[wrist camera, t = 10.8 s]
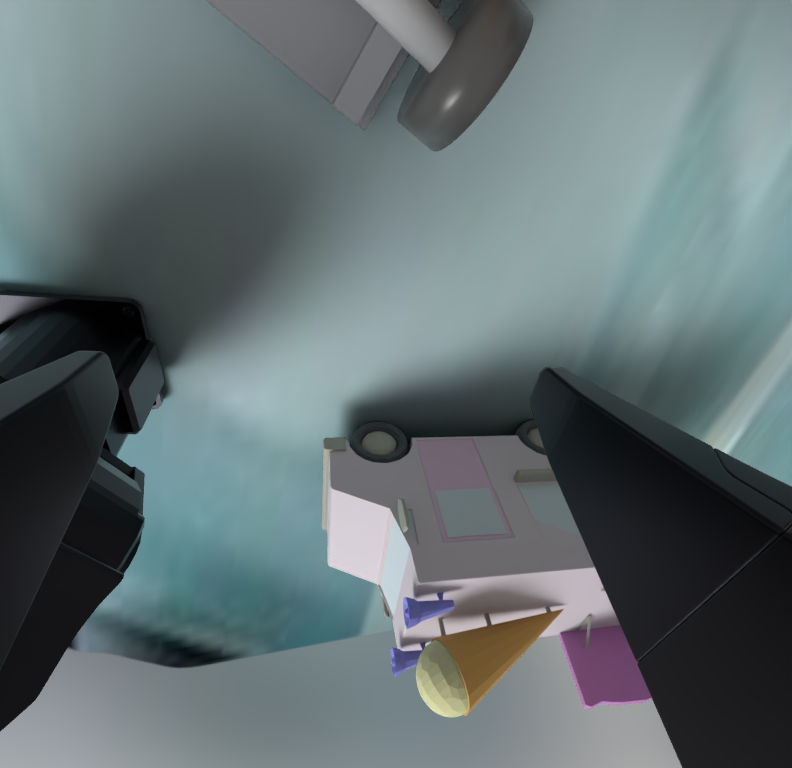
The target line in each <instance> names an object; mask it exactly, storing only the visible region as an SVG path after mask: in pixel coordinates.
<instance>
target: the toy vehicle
mask: <svg viewBox="0 0 792 768" xmlns="http://www.w3.org/2000/svg"><path fill="white" fill-rule="evenodd" d="M322 529H324V530H327V551H328V565H329V566H331V567H333V568H336V569H339V570H341V571H344V572H346V573H349V574H352V575H354V576H357V577H360V578H362V579H365V580H368V581H370V582H373V583H375V584H377V585H378V588H379V590H380V592H381V595H382V603H383V611H384V614H385V616H386V617H387V618H389V614H390V616H391V618H392V621H393V626H394V631H395V637H396V643H397V648H398V649H397V648H393V647H392V648H391V665H392V672H393V677H396V676H397V675H399V674H401V673H402V672H404V671H405V670H407V669H409V668H411V667H414V666H416V665H417V670H416V679H417V686H418V689H419V692H420V695H421V696H422V698H423V700H424V701H425V703H426V704H427V705H428V706H429V707H430V708H431V709H432V710H433V711H434V712H436V713H437V714H440V715H442V716H445V717H458V716H461V715H466V716H467V715H468V714H469V713H470V712H471V711H472V709H473V708H474V707H475V706H476V705H477V704H478V703H479V702H480V701H481V700H482V698H483V697H484V696H485V695H486V694H487V693H488V692H489V691H490V690H491V689H492V688H493V686H494V685H495V684H496V683H497V682H498V681H499V680H500V679H501V678H502V677H503V676H504V674H505V673H506V672H507V671H508V670H509V669H510V668H511V667H512V666H513V665H514V664H515V662H516V661H517V660H518V659H519V658H520V657H521V656H522V655H523V654H524V653H525V652H526V650H527V649H528V648H529V647H530V646H531V645H532V644H533V643H534V642H535V641H536V640H537V638H538V637H544V636H553V635H559V638H560V641H561V644H562V647H563V649H564V652H565V655H566V658H567V661H568V664H569V667H570V670H571V672H572V675H573V678H574V681H575V684H576V687H577V690H578V692H579V696H580V698H581V701H582V704H583V707H584V708H586V709H591V708H593V707H595V706H597V705H599V704H608V705H625V704H636V703H643V702H646V701H649V700H652V697H651V695H650V693H649V690H648V688H647V686H646V683H645V681H644V679H643V677H642V674H641V672H640V670H639V668H638V665H637V663H638V662H637V661H636V660H635V658H634V656H633V653H632V651H631V649H630V646H629V644H628V642H627V640H626V637H625V635H624V633H623V630H622V628H621V626H620V624H619V621H618V619H617V617H616V614H615V612H614V610H613V608H612V605H611V603H610V601H609V599H608V596H607V594H606V592H605V589H604V587H603V585H602V583H601V580H600V578H599V576H598V573H597V571H596V569H595V567H594V564H593V562H592V560H591V558H590V555H589V553H588V551H587V548H586V546H585V544H584V542H583V539H582V537H581V535H580V532H579V530H578V528H577V526H576V523H575V521H574V519H573V516H572V514H571V512H570V510H569V507H568V505H567V503H566V501H565V498H564V496H563V494H562V491H561V489H560V487H559V485H558V482H557V480H556V478H555V475H554V473H553V471H552V469H551V466H550V464H549V461H548V459H547V456H546V453H545V450H544V447H543V444H542V440H541V437H540V434H539V431H538V428H537V424H536V421H535V420H529V421H527V422H525V423H523V424H521V425H520V427H519V428H518V429H517V431H516V433H515V435H512V436H469V437H426V438H412V439H411V443H410V447H409V452H408V442H407V439H406V437H405V435H404V434H403V433H402V431H401V430H400V429H398V428H397V427H395V426H394V425H391V424H388V423H385V422H371V423H366V424H364V425H362V426H360V427H359V428H358V429H357V430H356V431H355V432H354V434H353V435H352V437H351V441H350V446H349V442H348V439H345V437H341V438H325V439H324V444H323V498H322Z"/></svg>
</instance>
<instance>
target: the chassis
mask: <svg viewBox="0 0 792 768" xmlns="http://www.w3.org/2000/svg"><path fill="white" fill-rule="evenodd" d="M206 1H207V2H208V3H210V4H211V5H212V6H213V7H214V8H216V9H217V10H218V11H219V12H221V13H222V14H223V15H224V16H225V17H227V18H228V19H229V20H230V21H232V22H233V23H234V24H235V25H236V26H238V27H239V28H240V29H241V30H242V31H244V32H245V33H246V34H247V35H249V36H250V37H251V38H252V39H253V40H255V41H256V42H257V43H258V44H260V45H261V46H262V47H263V48H264V49H266V50H267V51H268V52H269V53H271V54H272V55H273V56H274V57H275V58H277V59H278V60H279V61H280V62H281V63H283V64H284V65H285V66H286V67H288V68H289V69H290V70H291V71H292V72H294V73H295V74H296V75H297V76H299V77H300V78H301V79H302V80H303V81H305V82H306V83H307V84H308V85H309V86H311V87H312V88H313V89H314V90H316V91H317V92H318V93H319V94H320V95H322V96H323V97H324V98H325V99H327V100H328V101H329V102H330V103H331V104H332V106H333V107H334V108H336V109H337V110H338V111H339V112H340V113H342V114H343V115H344V116H345V117H347V118H348V119H349V120H350V121H351V122H353V123H354V124H355V125H358V126H359V127H361V128H362V129H363V130H365V128H366V126H367V125H368V123H369V121H370V120H371V118H372V116H373V114H374V113H375V111H376V109H377V108H378V106H379V104H380V103H381V101H382V99H383V97H384V96H385V94H386V92H387V91H388V89H389V87H390V86H391V84H392V82H393V81H394V79H395V77H396V75H397V74H398V72H399V70H400V69H401V67H402V65H403V64H404V62H405V60H406V58H407V57H408V55H409V54H410V55H411V56H412V57H413V58H415V59H416V60H417V61H418V62H419V63H420V64H421V65H420V67H419V69H418V71H417V73H416V74H415V76H414V78H413V80H412V82H411V84H410V86H409V88H408V90H407V92H406V94H405V96H404V99H403V101H402V103H401V106H400V109H399V113H398V122H399V123H400V124H402V125H403V126H404V127H405V128H406V129H407V130H409V131H410V132H411V133H412V134H413V135H414V136H415V137H417V138H418V139H419V140H420V141H421V142H422V143H423V144H425V145H426V146H427V147H428V148H429V149H430V150H431V151H434V152H435V151H439V150H442V149H443V148H445V147H447V146H448V145H449V144H451V143H452V142H453V141H454V140H456V139H457V138H458V137H459V136H460V135H461V134H462V133H463V132H464V131H465V130H466V129H467V128H468V127H469V126H470V125H471V124H472V123H473V122H474V120H475V119H476V118H477V117H478V116H479V115H480V113H481V112H482V111H483V110H484V109H485V107H486V106H487V105H488V103H489V102H490V101H491V100H492V98H493V97H494V96H495V94H496V93H497V91H498V90H499V89H500V87H501V86H502V84H503V83H504V81H505V80H506V78H507V77H508V75H509V73H510V72H511V70H512V69H513V67H514V65H515V64H516V62H517V60H518V58H519V56H520V55H521V53H522V51H523V49H524V47H525V44H526V42H527V40H528V38H529V35H530V32H531V29H532V25H533V15H532V14H531V12H530V11H529V10H528V9H527V7H526V6H525V5H524V4H523V2H522V1H521V0H464V1H463V3H462V4H461V5H460V7H459V8H458V9H457V11H456V12H455V13H454V15H453V16H452V17H451V19H450V20H449V22H447V21H446V20H445V18H444V17H443V16H442V15H441V14H440V13H439V12H438V11H437V10H436V8H437V6H438V4H439V3H440V1H441V0H206Z"/></svg>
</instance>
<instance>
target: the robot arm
mask: <svg viewBox="0 0 792 768" xmlns="http://www.w3.org/2000/svg"><path fill="white" fill-rule="evenodd" d="M125 307H130V308H132V309H133V310H134V313H131V312H129V311H127V310H126V308H125ZM163 384H164V377H163V373H162V368H161V364H160V359H159V355H158V350H157V346H156V344H155V343H154V342H153V341H152V340H151V339H150V338H149V333H148V329H147V325H146V320H145V316H144V312H143V308H142V306H141V304H140V303H139V302H137V301H136V300H134V299H129V298H112V297H95V296H78V295H61V294H44V293H27V292H10V291H0V731H1V730H2V729H4V728H5V727H6V726H7V725H8V724H9V723H10V722H11V721H12V720H14V719H15V718H16V717H17V716H18V715H19V714H20V713H22V712H23V711H24V710H25V709H26V708H27V707H28V706H29V705H31V704H32V703H33V702H34V701H35V700H36V698H37V697H38V695H39V694H40V692H41V691H42V689H43V687H44V686H45V684H46V682H47V681H48V679H49V677H50V675H51V674H52V672H53V671H54V669H55V667H56V666H57V664H58V662H59V661H60V659H61V657H62V656H63V654H64V652H65V651H66V649H67V648H68V646H69V645H70V643H71V642H72V640H73V639H74V637H75V636H76V634H77V632H78V631H79V630H80V629H81V627H82V626H83V625H84V623H85V622H86V621H87V619H88V618H89V617H90V616H91V614H92V613H93V612H94V610H95V609H96V608H97V606H98V605H99V604H100V603H101V602H102V601H103V600H104V599H105V598H106V597H107V596H108V595H109V594H110V593H111V592H112V590H113V589H114V588H115V587H116V586H117V585H118V584H119V583H120V582H121V581H122V579H123V577H124V572H125V571H126V569H127V568H128V567H129V565H130V563H131V561H132V560H133V558H134V556H135V554H136V552H137V549H138V546H139V544H140V540H141V534H142V530H143V527H144V519H145V518H144V516H143V495H144V475H145V474H144V473H143V472H142V471H140V470H139V469H137V468H136V467H130V466H129V465H127V464H126V463H125V462H123V461H122V460H120V459H119V458H117V457H116V456H117V455H118V453H119V451H120V449H121V447H122V445H123V443H124V441H125V439H126V437H127V435H128V434H137V433H138V432H139V431H140V430H141V429H142V427H143V425H144V423H145V421H146V419H147V417H148V415H149V413H150V411H151V409H157V408H159V407H160V406H161V404H162V402H163V394H162V389H161V388H162V386H163ZM155 400H156V401H155ZM530 405H531V408H532V412H533V415H534V418H535V421H536V424H537V428H538V431H539V434H540V437H541V440H542V444H543V447H544V450H545V453H546V456H547V459H548V461H549V464H550V466H551V469H552V471H553V473H554V475H555V478H556V480H557V482H558V485H559V487H560V489H561V491H562V494H563V496H564V498H565V501H566V503H567V505H568V507H569V510H570V512H571V514H572V516H573V519H574V521H575V523H576V526H577V528H578V530H579V532H580V535H581V537H582V539H583V542H584V544H585V546H586V548H587V551H588V553H589V555H590V558H591V560H592V562H593V564H594V567H595V569H596V571H597V573H598V576H599V578H600V580H601V583H602V585H603V587H604V589H605V592H606V594H607V596H608V599H609V601H610V603H611V605H612V608H613V610H614V612H615V614H616V617H617V619H618V621H619V624H620V626H621V628H622V630H623V633H624V635H625V637H626V640H627V642H628V644H629V646H630V649H631V651H632V653H633V656H634V658H635V660H636V661H637V662H638V663H637V665H638V668H639V670H640V672H641V674H642V677H643V679H644V681H645V683H646V686H647V688H648V690H649V693H650V695H651V697H652V699H653V701H654V704H655V706H656V709H657V711H658V713H659V715H660V718H661V720H662V722H663V725H664V727H665V729H666V731H667V734H668V736H669V738H670V740H671V743H672V745H673V747H674V750H675V752H676V754H677V757H678V759H679V761H680V763H681V765H682V768H792V487H791V486H789V485H787V484H785V483H783V482H781V481H779V480H777V479H775V478H773V477H771V476H769V475H767V474H765V473H763V472H761V471H759V470H757V469H755V468H753V467H751V466H749V465H747V464H745V463H743V462H741V461H739V460H737V459H735V458H733V457H731V456H730V455H728V454H726V453H724V452H722V451H720V450H718V449H713V447H712V446H710V445H708V444H706V443H705V442H703V441H701V440H699V439H697V438H695V437H693V436H691V435H689V434H687V433H686V432H684V431H682V430H680V429H678V428H676V427H674V426H672V425H670V424H668V423H666V422H665V421H663V420H661V419H659V418H657V417H655V416H653V415H651V414H649V413H647V412H645V411H644V410H642V409H640V408H638V407H636V406H634V405H632V404H630V403H628V402H626V401H624V400H623V399H621V398H619V397H617V396H615V395H613V394H611V393H609V392H607V391H605V390H604V389H602V388H600V387H598V386H596V385H594V384H592V383H590V382H588V381H586V380H584V379H583V378H581V377H579V376H577V375H575V374H573V373H571V372H569V371H567V370H565V369H563V368H560V367H545V368H544V369H542V371H541V372H540V374H539V377H538V379H537V381H536V384H535V386H534V389H533V391H532V394H531V397H530Z"/></svg>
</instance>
